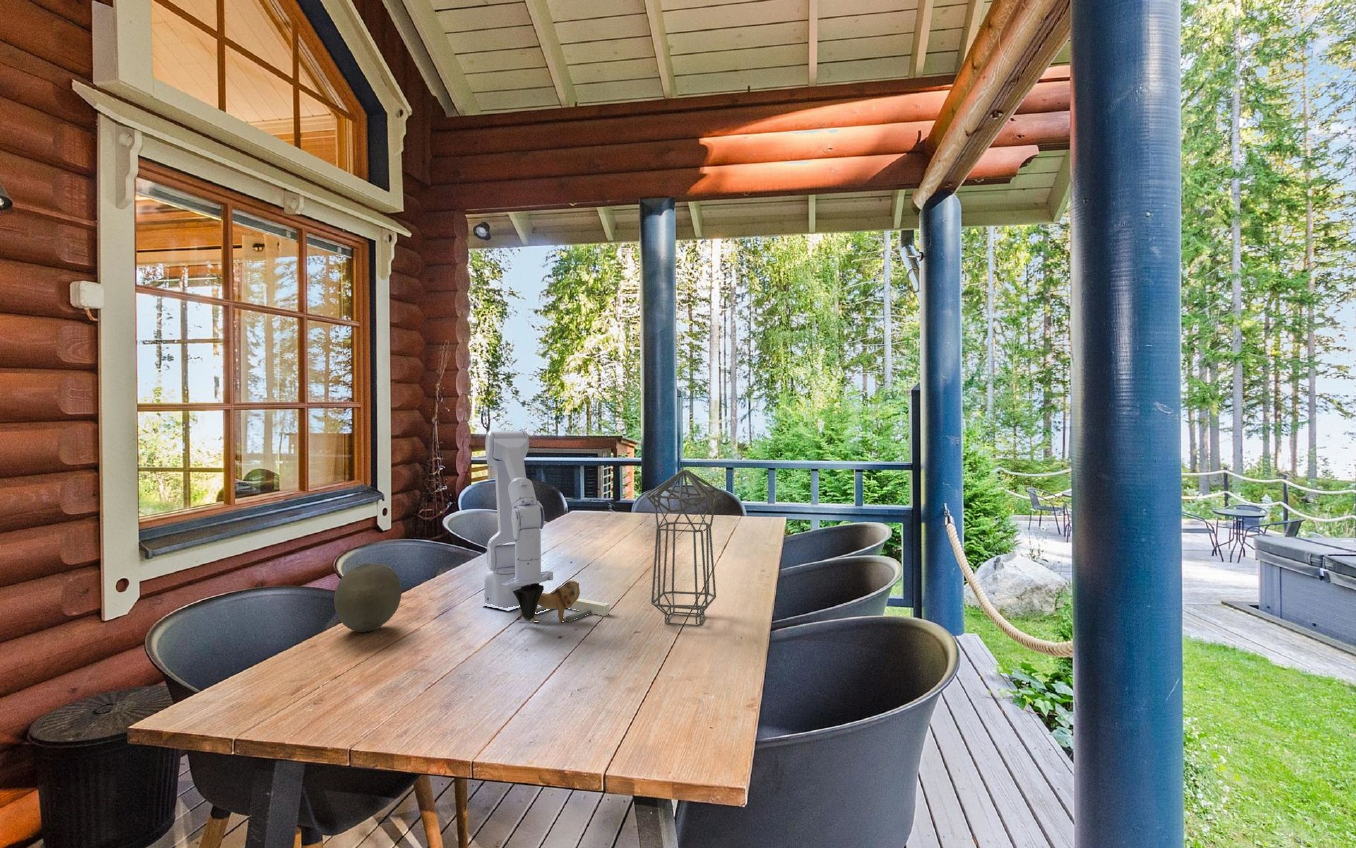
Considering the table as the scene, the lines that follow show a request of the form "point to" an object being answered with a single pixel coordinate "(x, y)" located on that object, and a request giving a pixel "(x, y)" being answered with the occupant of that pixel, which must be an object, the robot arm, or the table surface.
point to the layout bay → (585, 608)
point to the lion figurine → (559, 599)
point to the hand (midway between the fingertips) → (528, 618)
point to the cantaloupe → (367, 596)
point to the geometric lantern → (701, 498)
